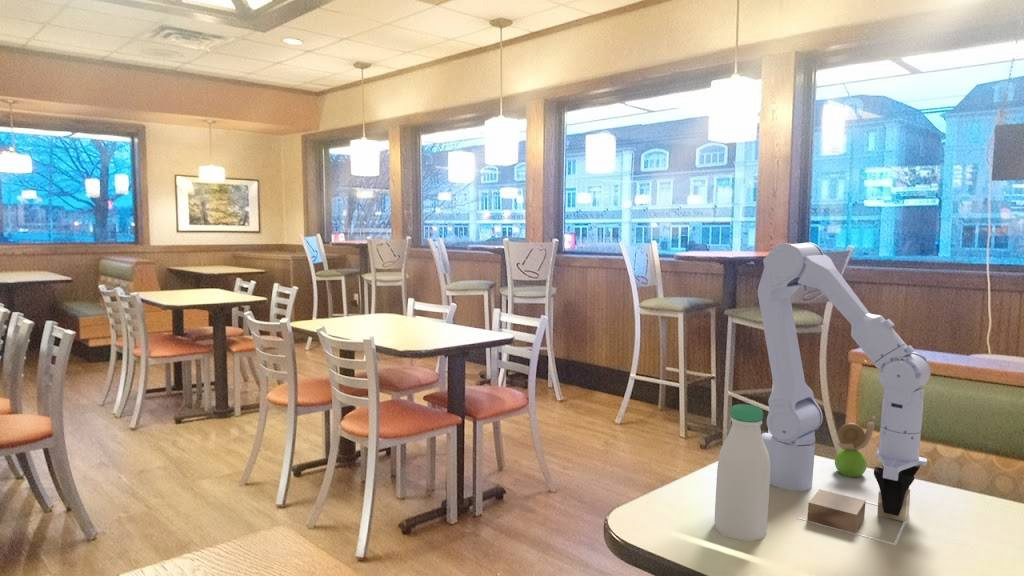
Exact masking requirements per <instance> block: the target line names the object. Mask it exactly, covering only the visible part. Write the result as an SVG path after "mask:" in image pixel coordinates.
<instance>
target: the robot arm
mask: <svg viewBox="0 0 1024 576" xmlns="http://www.w3.org/2000/svg"><path fill="white" fill-rule="evenodd" d="M762 261H763V271H762V274H761V276H760V277H761V278H760V280H759V284H758V288H757V297H758V302H759V309H760V314H761V315H760V316H761V322H762V327H763V333H764V337H765V345H766V349H767V355H768V360H769V361H768V362H769V367H770V371H771V373H770V374H771V379H772V384H773V388H772V391H771V393H770V395H769V398H768V414H767V417H766V426H767V429H768V432H761V434H762V438H763V441H764V443H765V446H766V448H767V451H768V454H769V459H770V485H772V486H775V487H776V488H777V487H778V488H779V489H783V490H788V491H795V492H798V491H799V492H802V491H803V492H805V491H810V490H811V489H812V488H813V477H814V464H815V462H814V461H815V453H816V452H815V449H816V435H815V433H816V431H817V430H818V429H819V428H820V426H822V423H823V420H824V417H823V412H822V409H821V407H820V406H819V404H818V403H817V401H816V399H815V395H814V391H813V390H812V389H811V388H810V387H809V386H808V384H807V382H806V379H805V374H804V368H803V361H802V356H801V350H800V346H799V345H800V344H799V340H798V334H797V333H798V332H797V327H796V323H795V316H794V312H793V306H792V299H791V298H792V296H793V295H794V294H795V293H796V292H797V290H798V289H799V288H800V287H801V285H803V286H807V287H812V288H814V289H817V290H820V292H822V294H823V295H824V296H825V297H826V298H827V299H828V300H829V301H830V303H831V304H832V305H833V306H834V308H836V310H838V312H840V313H841V315H842V316H843V317H844V318H845V319H846V320H847V322H849V323H850V325H851V329H850V336H851V338H852V339H853V340H854V341H855V342H856V344H857V345H858V347H859V348H860V349H861V350H862V351H863V352H864V354H865V355H866V356H867V358H868V359H869V360H870V361H871V362H872V364H873V365H874V366H875V367H876V368H877V369H878V370H880V371H878V379H879V381H880V384H881V385H882V387H883V398H882V402H881V403H882V404H881V418H880V428H879V440H878V441H879V442H878V449H877V451H876V457H877V459H878V460H879V462H880V464H881V467H880V466H875V468H874V469H873V477H874V478H875V480H876V482H877V484H878V488H879V490H880V492H881V498H882V505H883V510H884V513H888V514H892V515H896V516H898V515H899V513H900V511H901V508H902V505H903V501H904V497H905V494H906V491H907V489H909V490H910V486H911V485H912V484H913V482H914V480H915V478H916V477H915V475H916V473H918V471H919V470H920V468H921V467H920V466H923V467H924V466H926V465H927V464H928V459H927V458H926V457H922V456H920V448H921V436H922V424H923V415H924V397H925V395H924V394H925V387H924V386H925V385H926V384H927V383H928V381H929V380H930V378H931V376H932V369H931V367H930V364H929V362H928V361H927V358H926V357H925V356H924V355H922V354H921V353H919V352H916V351H915V349H914V348H913V346H912V345H907V344H906V343H905V341H904V340H903V339H902V338H901V337H900V335H899V334H898V333H897V331H896V330H895V329H894V328H893V327H895V323H894V322H893V321H892V320H891V319H890V318H888V319H886V318H884V316H883V315H880V314H875V313H870V312H869V310H868V309H867V308H866V306H865V305H864V304H863V302H862V301H861V300H860V298H859V297H858V295H857V294H856V293H855V292H854V290H853V289H852V287H851V286H850V285H849V284H848V283H847V281H846V280H845V278H844V277H843V276H842V275H841V273H840V272H839V271H838V268H836V266H835V264H834V262H833V260H832V259H831V258H830V257H829V256H828V255H827V254H825V253H824V252H823V250H822V248H821V247H820V246H819V245H818V244H815V243H812V242H808V241H807V242H806V241H805V242H802V243H801V242H800V243H780V244H777V245H775V246H774V247H773V248H772V249H771V250H770V251H769V252H768V254H767V255H766V256H765V257H764V258H763V259H762ZM769 432H770V433H769Z"/></svg>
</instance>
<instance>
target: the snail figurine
mask: <svg viewBox="0 0 1024 576" xmlns="http://www.w3.org/2000/svg"><path fill="white" fill-rule="evenodd" d="M871 419H873V420H872V421H870V422H867V423H866V431H864V429H863V428H862V427H861V425H858V424H857V423H854V422H848V423H845V424H842V425H841V426H840V428H839V429H838V433H837V437H838V439H839V441H838V442H837V445H838V446H839V447H840V448H841V450H839V451H838V452H837V454H836V455H835V456H834V465H835V469H836V470H837V471H838V473H839V474H841V476H842V475H843V476H844V477H849V478H858V477H859V478H860V477H861V476H862V475H863V474H864V473H865V472H866V470H867V467H868V466H867V465H868V462H867V459H866V457H865V455H864V454H863V453H862V452H861V451H859V450H862V449H865V448H866V447H867V446H868V444H869V443H870V441H871V438H872V436H873V432H874V430H875V427H876V425H875V423H876V420H877V417H876V416H875V415H872V416H871ZM840 441H841V442H840Z"/></svg>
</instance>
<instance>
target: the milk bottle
mask: <svg viewBox="0 0 1024 576" xmlns="http://www.w3.org/2000/svg"><path fill="white" fill-rule="evenodd" d="M763 419H764V411H763V408H762V407H760V406H757V405H752V404H747V403H746V404H745V403H738V404H734V405H732V406H731V408H730V421H731V426H730V430H729V433H728V434H727V436H726V438H725V440H724V442H723V444H722V446H721V448H720V452H719V455H718V459H717V460H718V461H717V469H716V470H717V471H716V484H715V485H716V487H715V488H716V489H715V502H714V503H715V504H714V505H715V506H714V507H715V508H714V528H715V530H716V531H717V532H718V533H719V534H720V535H723V536H724V537H728V538H730V539H734V540H738V541H744V542H745V541H747V542H753V541H759V540H762V539H764V538H765V537H766V536H767V529H768V516H769V499H770V485H771V484H770V459H769V454H768V451H767V448H766V446H765V443H764V441H763V438H762V430H761V427H762V426H761V425H763Z"/></svg>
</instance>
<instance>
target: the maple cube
mask: <svg viewBox="0 0 1024 576" xmlns="http://www.w3.org/2000/svg"><path fill="white" fill-rule="evenodd" d="M877 497H878V498H877V504H878V506H877V514H876V515H877V516H878V517H882V518H886V519H892V520H896V521H900V522H905V521H906V519H907V520H908V518H909V516H908V514H909V515H910V513H909V512H910V501H911V489H910V488H909V489H907V491H906V494H905V497H904V501H903V505H902V508H901V511H900V513H899V515H898V516H896V515H892V514H888V513H884V510H883V505H882V498H881V492H880V489H879V490H878V496H877ZM907 517H908V518H907ZM906 522H907V521H906Z"/></svg>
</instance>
